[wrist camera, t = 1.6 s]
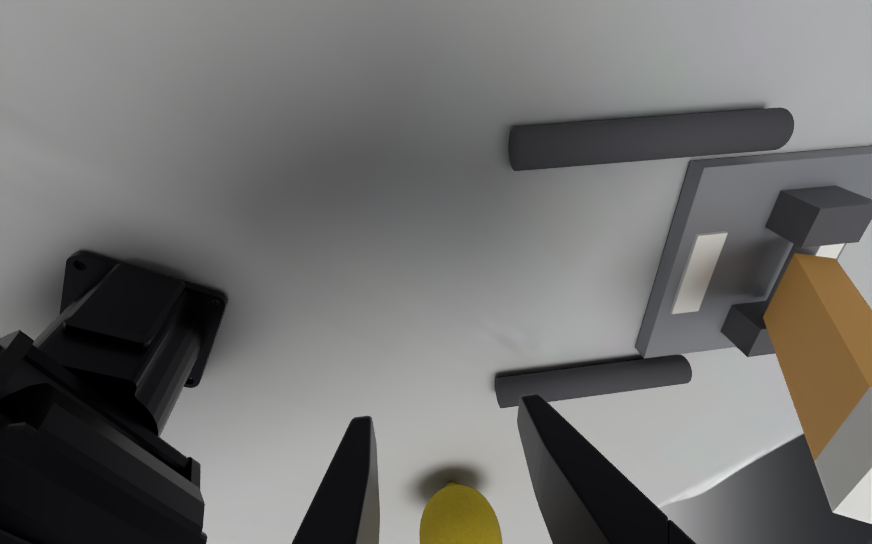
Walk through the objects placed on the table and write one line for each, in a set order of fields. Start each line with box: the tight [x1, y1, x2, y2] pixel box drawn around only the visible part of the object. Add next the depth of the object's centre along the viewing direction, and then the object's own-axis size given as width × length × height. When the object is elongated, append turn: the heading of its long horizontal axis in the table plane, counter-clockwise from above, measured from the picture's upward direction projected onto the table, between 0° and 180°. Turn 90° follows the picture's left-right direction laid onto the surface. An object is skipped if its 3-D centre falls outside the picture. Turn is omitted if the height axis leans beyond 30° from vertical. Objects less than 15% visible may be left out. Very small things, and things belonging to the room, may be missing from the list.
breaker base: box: [635, 146, 872, 358], centre depth 23 cm, size 10×12×3 cm
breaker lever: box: [763, 244, 872, 524], centre depth 18 cm, size 2×4×13 cm
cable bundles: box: [495, 108, 794, 408], centre depth 23 cm, size 12×17×2 cm
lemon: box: [420, 482, 502, 544], centre depth 29 cm, size 6×6×8 cm
